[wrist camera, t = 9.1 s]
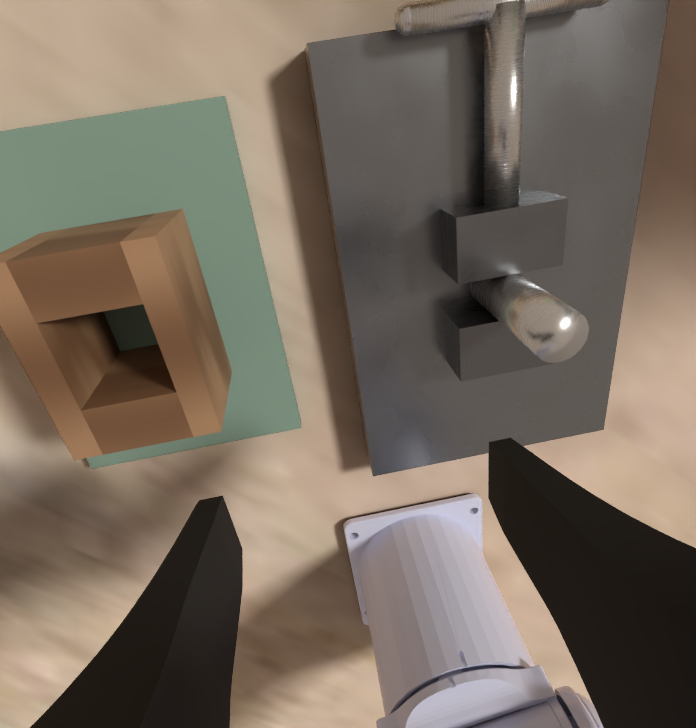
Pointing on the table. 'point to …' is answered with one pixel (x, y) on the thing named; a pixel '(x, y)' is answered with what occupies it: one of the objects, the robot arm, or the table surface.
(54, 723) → the robot arm
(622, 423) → the table surface
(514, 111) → the vise
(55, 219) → the mat
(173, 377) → the sleeve block
